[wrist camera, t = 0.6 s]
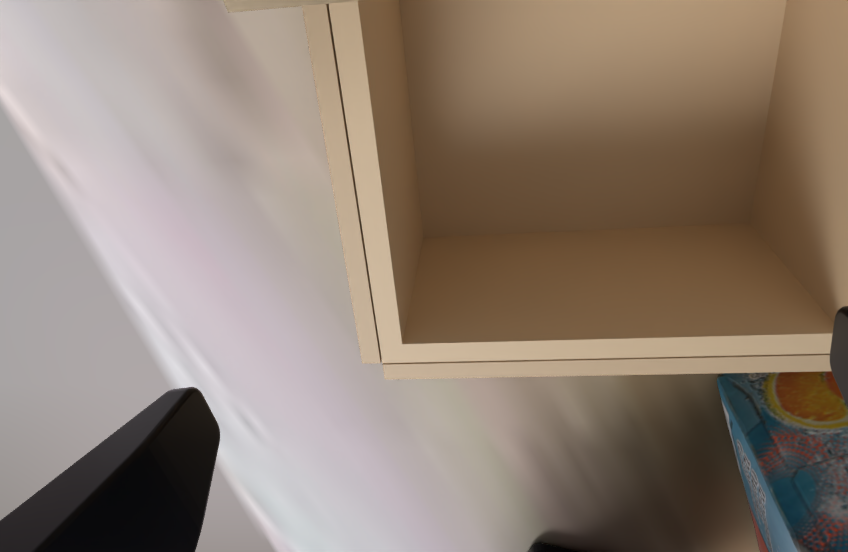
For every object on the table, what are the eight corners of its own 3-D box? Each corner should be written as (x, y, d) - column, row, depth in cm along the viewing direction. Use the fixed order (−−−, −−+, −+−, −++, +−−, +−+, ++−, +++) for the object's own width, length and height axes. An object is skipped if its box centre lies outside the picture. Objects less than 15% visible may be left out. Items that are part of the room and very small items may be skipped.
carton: (773, 245, 22) (881, 370, 16) (396, 260, 24) (364, 379, 18) (858, -206, 16) (1082, -278, 10) (345, -145, 18) (271, -176, 12)
